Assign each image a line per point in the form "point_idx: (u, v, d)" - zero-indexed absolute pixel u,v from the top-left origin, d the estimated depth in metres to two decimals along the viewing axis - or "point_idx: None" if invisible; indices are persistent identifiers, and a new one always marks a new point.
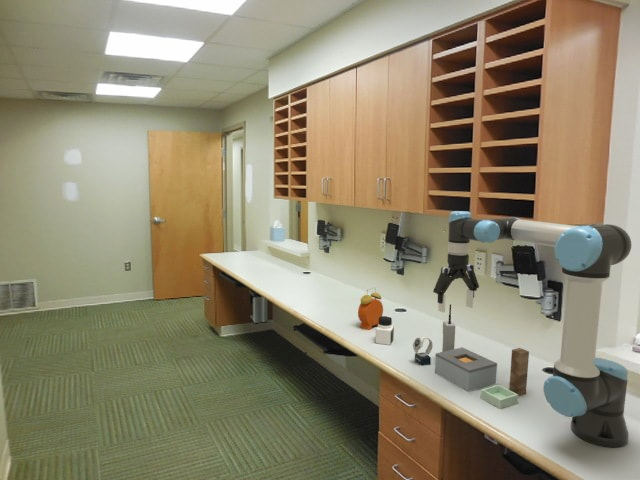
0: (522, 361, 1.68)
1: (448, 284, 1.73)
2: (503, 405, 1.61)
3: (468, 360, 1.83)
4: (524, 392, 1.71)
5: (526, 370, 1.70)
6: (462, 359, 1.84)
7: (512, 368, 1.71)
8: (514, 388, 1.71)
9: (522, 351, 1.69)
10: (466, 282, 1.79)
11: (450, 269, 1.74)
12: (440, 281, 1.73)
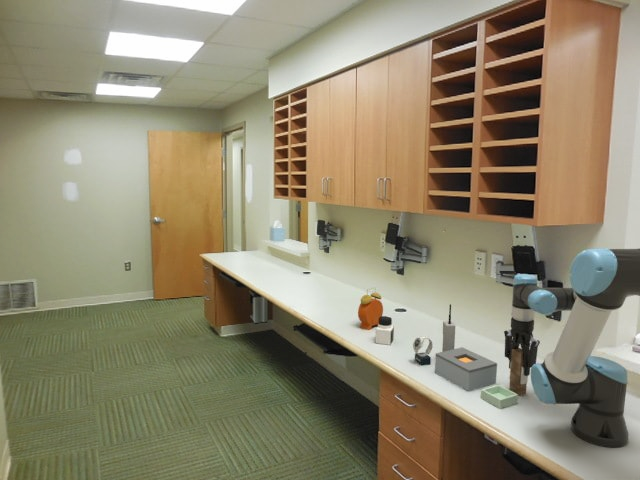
0: (522, 361, 1.68)
1: (511, 349, 1.72)
2: (503, 405, 1.61)
3: (468, 360, 1.83)
4: (524, 392, 1.71)
5: None
6: (462, 359, 1.84)
7: (512, 368, 1.71)
8: (514, 388, 1.71)
9: None
10: None
11: (510, 331, 1.72)
12: None
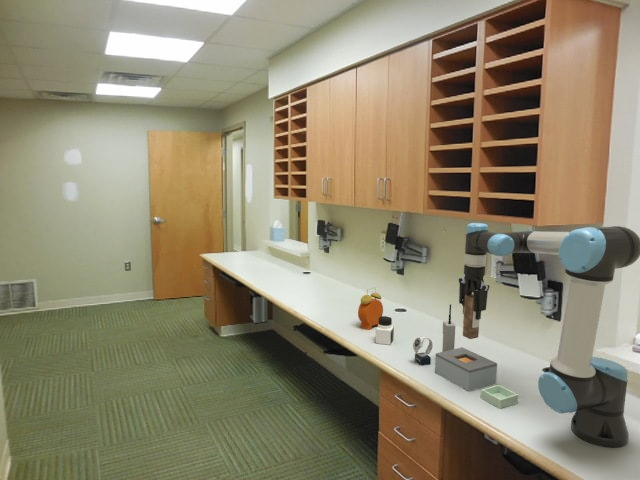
0: (474, 305, 1.77)
1: None
2: (503, 405, 1.61)
3: (468, 360, 1.83)
4: (476, 336, 1.80)
5: None
6: (462, 359, 1.84)
7: (465, 313, 1.80)
8: (467, 332, 1.80)
9: None
10: None
11: (464, 278, 1.81)
12: None
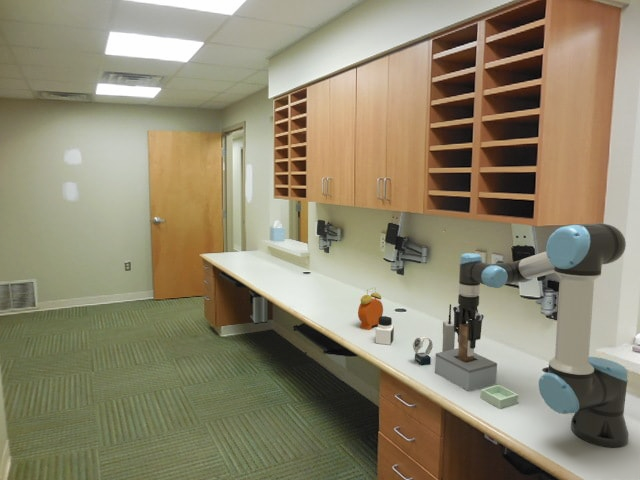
0: (468, 334, 1.79)
1: (459, 324, 1.83)
2: (503, 405, 1.61)
3: None
4: None
5: None
6: None
7: (460, 341, 1.82)
8: (462, 360, 1.82)
9: None
10: None
11: (458, 307, 1.83)
12: None
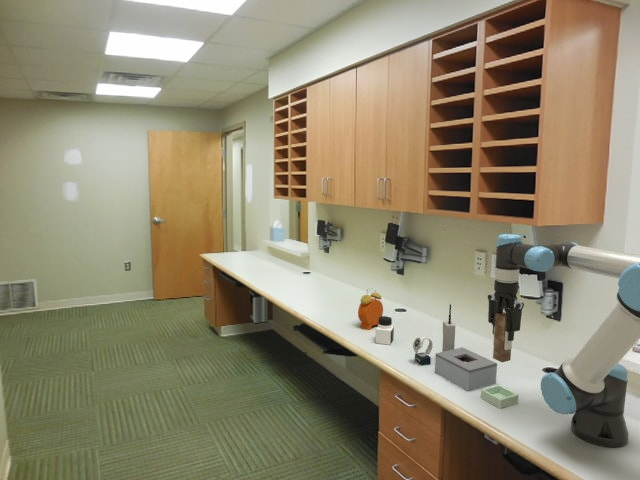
0: (506, 325, 1.60)
1: (495, 313, 1.64)
2: (503, 405, 1.61)
3: None
4: (508, 358, 1.63)
5: None
6: None
7: (496, 333, 1.63)
8: (498, 354, 1.63)
9: None
10: None
11: (494, 295, 1.64)
12: None
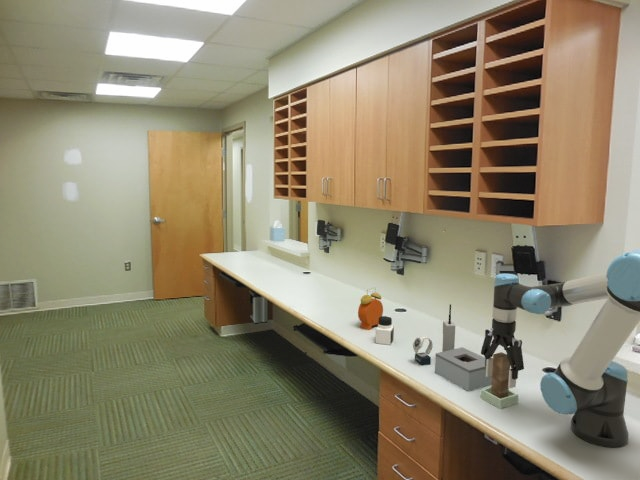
0: (503, 366, 1.62)
1: (489, 348, 1.67)
2: (503, 405, 1.61)
3: None
4: None
5: (508, 375, 1.64)
6: None
7: (494, 373, 1.65)
8: (496, 394, 1.65)
9: (504, 356, 1.63)
10: None
11: (492, 332, 1.66)
12: None
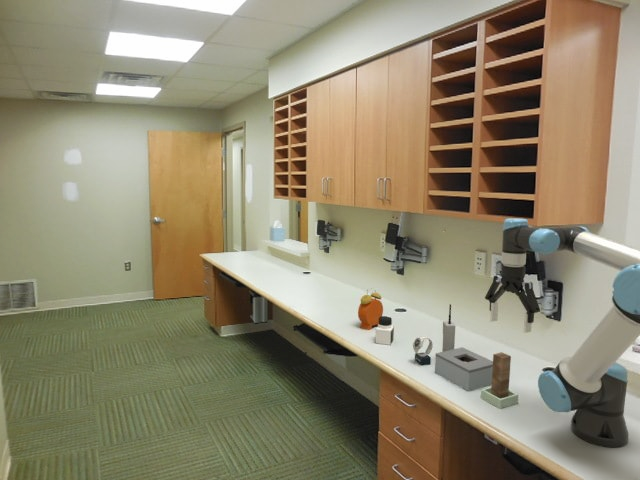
0: (503, 366, 1.62)
1: (496, 293, 1.65)
2: (503, 405, 1.61)
3: None
4: None
5: (508, 375, 1.64)
6: None
7: (494, 373, 1.65)
8: (496, 394, 1.65)
9: (504, 356, 1.63)
10: None
11: (500, 278, 1.63)
12: None
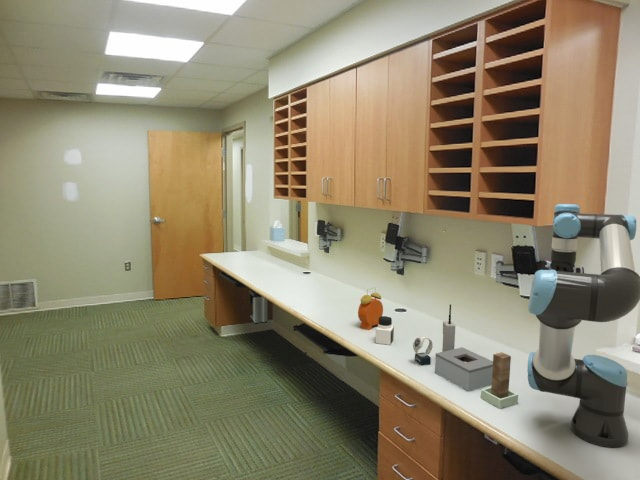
0: (503, 366, 1.62)
1: None
2: (503, 405, 1.61)
3: None
4: None
5: (508, 375, 1.64)
6: None
7: (494, 373, 1.65)
8: (496, 394, 1.65)
9: (504, 356, 1.63)
10: None
11: (550, 264, 1.65)
12: None
